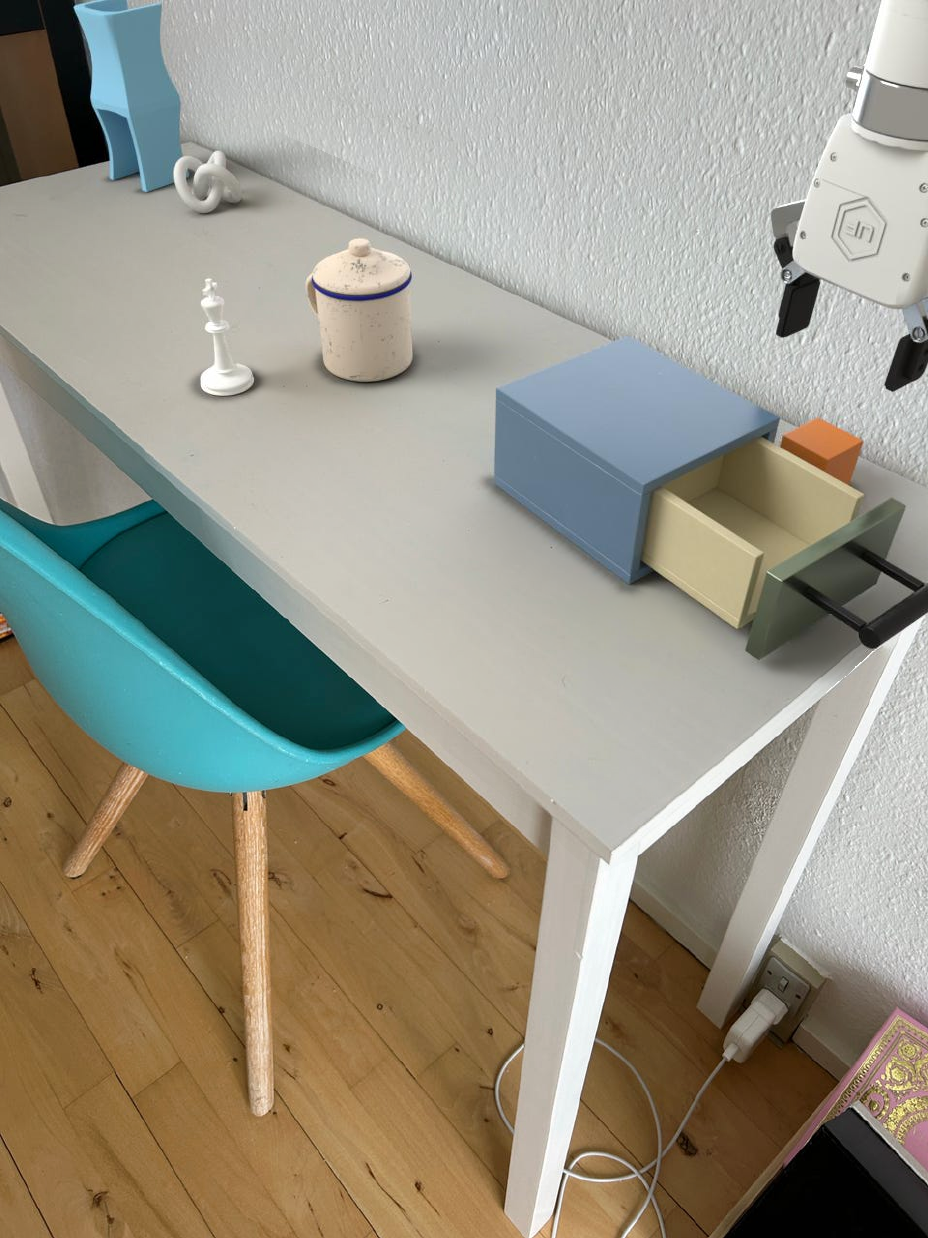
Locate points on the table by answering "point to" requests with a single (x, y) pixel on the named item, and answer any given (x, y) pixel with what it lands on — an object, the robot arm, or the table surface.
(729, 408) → the drawer cabinet
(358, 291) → the teacup with lid
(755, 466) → the drawer
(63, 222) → the table surface
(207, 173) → the knot
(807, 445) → the matte orange cube
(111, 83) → the vase
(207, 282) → the chess piece
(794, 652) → the table surface
